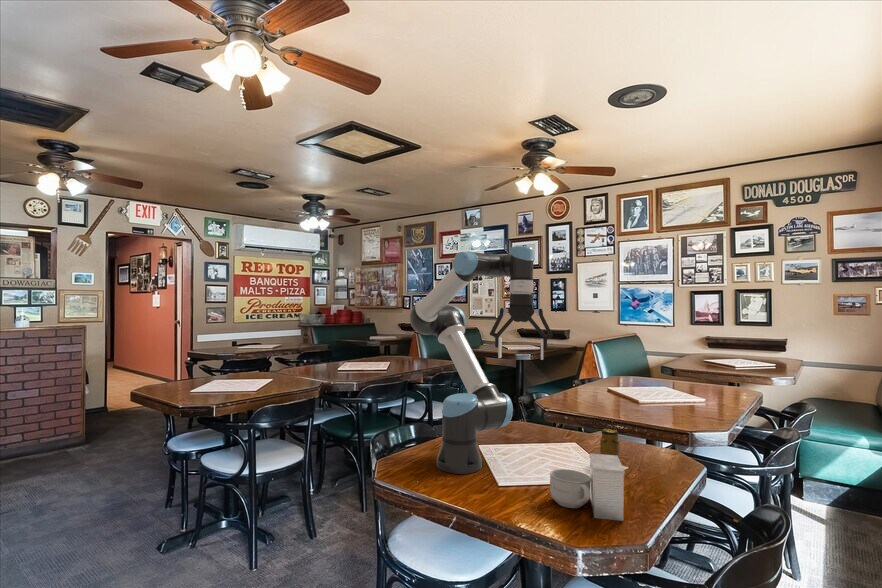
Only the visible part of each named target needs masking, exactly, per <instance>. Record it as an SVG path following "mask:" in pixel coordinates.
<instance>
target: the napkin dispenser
mask: <svg viewBox="0 0 882 588" xmlns="http://www.w3.org/2000/svg"><path fill="white" fill-rule="evenodd" d="M589 459H590V461H589V462H590V463H589V476H590V478H591V481H590V498H589V501H590V505H591V509H592V513H593V517H594V519H599V520H600V519H601V520H609V521H610V520H611V521H619V522H624V507H625V505H624V503H625V502H624V499H625V498H624V495H625V494H624V492H625V491H624V489H625V486H624V485H625V484H624V482H625V479H624V477H625V473H626V472H625V470H624V469H623V467H622V466H623V464H622V462H621V460H620V457H619V458H618V456H615V455H603V454H600V453H590V452H589Z"/></svg>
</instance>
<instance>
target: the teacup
mask: <svg viewBox="0 0 882 588" xmlns="http://www.w3.org/2000/svg"><path fill="white" fill-rule="evenodd" d="M549 476H550V478H549V492H550V493H549V494H550V496H551V498H552V499H553V500H554V501H555V502H556V504H558V505H559V506H561V507H564V508H566V509H567V508H569V509H579V508H581V507H582V506H584V505H585V504H586V503H588V501H590V481H591V478H590V475H589V474H587V473H584V472H583V471H579V470H576V469H575V470H574V469H569V468H558V469H557V468H556V469H553V470H551V471H550V472H549Z"/></svg>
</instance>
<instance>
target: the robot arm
mask: <svg viewBox="0 0 882 588" xmlns="http://www.w3.org/2000/svg"><path fill="white" fill-rule="evenodd" d="M452 262H453V263H452V268H451V270H449V271H448V273H447V274H446V275H445V276H444V277H443V278H442V279H441V280H440V281H439V282H438V283H437V284H436V285H435V286H434V287H433V289H431V290H430V292H429V293H428V294H427V295H426V296H425V297H424V298H423V299H419V300H418V301H417V302H416V303H415V304H414V305H413V306H412V308H411V309H410V313H409V323H410V325H411V327H412V328H413V330H414V331H415V332H417V333H418V334H420V335H423V336H436V338H437V341H438V343H439V344H442V345H444V346H445V348H446V350H447V353H448V354H449V355H448V356H449V357H450V359H451V360H452V363H453V365H454V367H455V369H456V370H457V373H458V375H459V377H460V379H461V382H462V383H463V385H464V387H465V389H466V392H462V393H459V392H458V393H454V394H451V395H449V396H447V397H446V398H444V400H443V402H442V409H441V413H442V416H441V417H442V421H441V423H442V425H441V427H442V431H441V438H442V439H441V440H442V441H441V446H440V448H439V451H438V453H437V454H438V455H437V457H436V468H437V469H439V470H440V471H442V472H444V473H448V474H449V473H450V474H455V475H467V474H472V473H476V472H478V471H480V470H481V469H482V468H483V466H482V465H483V460H482V456H481V453H480V449H479V446H478V442H477V441H478V440H477V439H478V432H483V431H485V432H486V431H489V430H499V429H500V428H503V427H506V426H507V425H509V423H510V422H511V421H512V417H513V412H514V406H513V402H512V399H511V397H510V396H509V395H508V394H507V393H504V392H499V390H498V387H497V385H495V384H493V383H490V381H489V380H488V378H487V376H486V374H485V371H484V370H483V369H482V367H481V365H480V362H479V360H478V359H477V357H476V355H475V353H474V351H473V349H472V347H471V346H470V343H469V342H468V339H467V337H466V336H465V332H466V326H467V322H466V320H467V319H466V315H465V313H464V312H463V310H462V309H461V308H459V306H455V305H454V306H453V305H451V304H450V305H448V304H449V303H450V302H451V301H452V300H453V299H454V298H455V297H456V296H457V295H458V294H459V293H460V292H461V291H463V289H465V287H466V286H467V285H469V283H470V282H471V281H473V280H474V279H475V278H476V277H477V276H483V277H485V276H486V277H490V278H502V277H509V293H510V294H509V308H504V307H501V308H499V314H498V317H497V318H496V320H495V322H494V323H493V326H492V328H491V330H490V332H489V335H490V336H491V337H494V342H495V343H494V347H495V348H498V351H497V355H498V356H497V357H498V359H502V345H503V344H502V341H503V340H502V339H503V338H502V337H500V336H501V335H502V334H503V333H504V332H505V331H506V330H507V328H508V327H509V326H510V325H511V324H512V323H513V322H516V323H519V322H521V323H527V322H529V323H530V324H531V325H532V327H533V328H534V329H535V330H536V332H538V334H539V335H540V336H541V337H542V338H541V339H540V360H542V361H543V360H544V350H547V348H548V339H551V338H553V337H554V334H553V333H552V331H551V328H550V326H549V324H548V322H547V320H546V318H545V316H544V311H543V308H538V309H534V295H533V292H534V262H535V259H534V249H533V247H531V246H528V245H516V246H511V247H510V251H509V253H507V254H496V253H484V252H483V253H482V252H475V251H459V252H457V253H456V254H455V256H454V259H453V261H452ZM507 313H508V314H509V316H510V318H509V319H508V320H507V321H506V322H505V323H504V324H503V325H502V327H501V328H500V329H499V330H498V331H497V329H498V327H499V325H500V323H501V321H502V319H503V317H504V316H506V314H507ZM534 314H536V315H537V316H539V319H540V322H541V323H542V324H543V326H544V329H545V332H546V333H547V334H545V332H544V331H543V330H542V329H541V327H540V326H539V324H538V323H537V322H536V321H535V320H534V319H533V318H532V316H533V315H534ZM496 331H497V333H496Z"/></svg>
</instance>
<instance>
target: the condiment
mask: <svg viewBox="0 0 882 588" xmlns="http://www.w3.org/2000/svg"><path fill="white" fill-rule="evenodd" d="M599 441H600V444H599V446H600V447H599V449H600V451H599V454H603V455H615V456H618V458H619V459H620V439H619V432H618V430H616V429H612V428H611V429H610V428H603V429H602V430H601V437H600V440H599ZM622 467H623V469H624V471H625V470H627V469H629V466H625V465H622Z"/></svg>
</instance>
